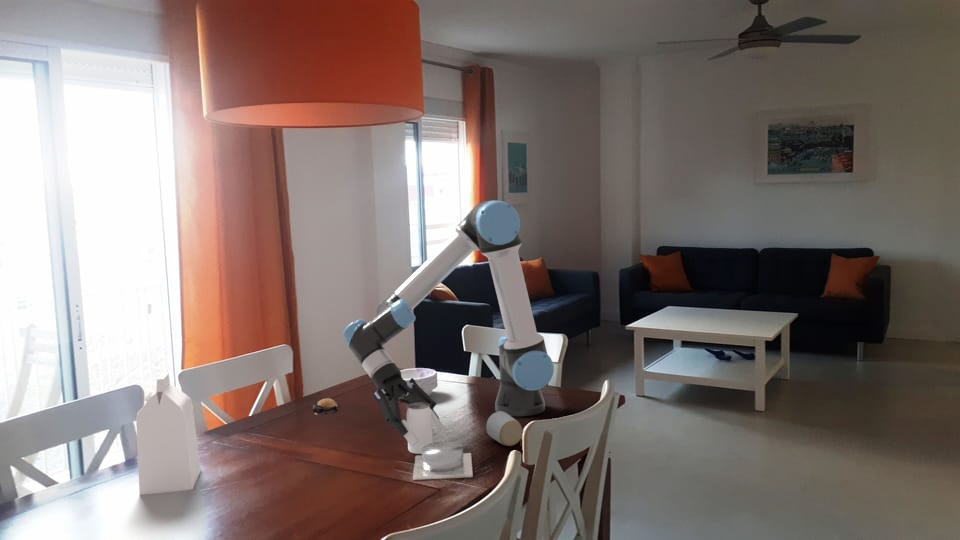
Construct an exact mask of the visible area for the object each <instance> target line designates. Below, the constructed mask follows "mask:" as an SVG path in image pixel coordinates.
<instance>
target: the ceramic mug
mask: <svg viewBox="0 0 960 540" xmlns="http://www.w3.org/2000/svg"><path fill="white" fill-rule="evenodd" d="M485 427H486V433H487V434H488V436H489V437H490V438H491V439H493V440H494V441H496V442H497V443H499V444H501V445H503V446H505V447H506V446H507V447H513V446H515V445H517V444H518V443H520V440H522V433H523V431H524V430H523V427H522V425H521V423H520V422H519V421H518V420H517V419H515V418H514V417H513V416H510V415H509V414H507V413H506V412H503V411H498V412H496V411H494V413H492V414H491V415H489V417H488V419H487V422H486V425H485Z"/></svg>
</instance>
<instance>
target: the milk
mask: <svg viewBox="0 0 960 540" xmlns="http://www.w3.org/2000/svg"><path fill="white" fill-rule="evenodd" d="M143 400H144V401H145V404H144V405H142V407H141V408H140V409H139V411H137V414H136V418H135V421H136V425H135V426H136V444H137V446H136V447H137V465H138V486H139V489H138V490H139V496H143V495H151V494H152V495H153V494H161V493H170V492H171V493H173V492H179V491H180V492H181V491H190V490H194V489H193V488H194V487H195V485H196V482H197V480H198V479H199V475H200V473H201V470H202V468H201V462H200V461H201V460H200V453H199V447H198V437H197V430H196V421H195V415H194V407H193V402H192V399H191V398H190V397H189V396H188V394H186V393H185V392H183V391H182V390H180V389H179V388H177V387H176V386H175V385H173V384H172V383H170V376H169V373H168V372H165V373H161V374H160V376H158V378H157V379H156V390H155V391H154V389H152V390H150V391H149V393H148V394H147V395H146V396H145V398H144V399H143Z"/></svg>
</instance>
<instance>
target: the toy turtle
mask: <svg viewBox="0 0 960 540" xmlns="http://www.w3.org/2000/svg"><path fill="white" fill-rule="evenodd" d="M312 412H313V413H314V415H317V416H318V415H330V414H337V413H339V412H340V404H339V402H338V401H335V400H334V399H332V398H329V397H328V398H327V397H326V398H322V399H320V400H319V401H316V402H314V403H313V406H312Z"/></svg>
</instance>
